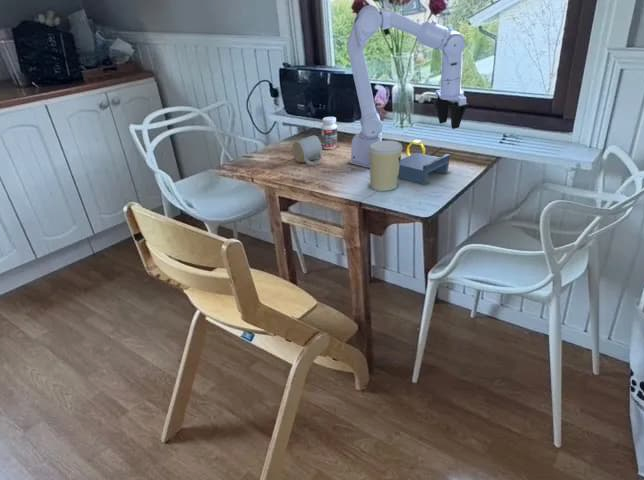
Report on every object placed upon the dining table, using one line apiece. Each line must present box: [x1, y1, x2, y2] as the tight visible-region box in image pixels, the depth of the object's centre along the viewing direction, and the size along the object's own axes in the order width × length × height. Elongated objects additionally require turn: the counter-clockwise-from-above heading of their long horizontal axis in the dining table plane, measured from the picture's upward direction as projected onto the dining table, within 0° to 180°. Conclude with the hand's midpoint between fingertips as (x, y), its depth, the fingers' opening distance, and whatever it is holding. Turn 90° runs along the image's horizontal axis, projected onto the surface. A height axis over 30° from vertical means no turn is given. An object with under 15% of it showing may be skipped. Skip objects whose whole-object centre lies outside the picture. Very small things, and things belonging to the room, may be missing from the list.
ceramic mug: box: [291, 134, 323, 167], centre depth 176 cm, size 11×8×8 cm
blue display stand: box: [398, 152, 451, 185], centre depth 158 cm, size 12×12×6 cm
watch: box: [406, 139, 426, 157], centre depth 168 cm, size 6×3×6 cm, turn 49°
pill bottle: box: [320, 116, 338, 150], centre depth 185 cm, size 6×6×10 cm
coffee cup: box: [369, 140, 403, 192], centre depth 152 cm, size 9×9×12 cm
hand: (449, 125), depth 162 cm, fingers open, 7 cm apart
